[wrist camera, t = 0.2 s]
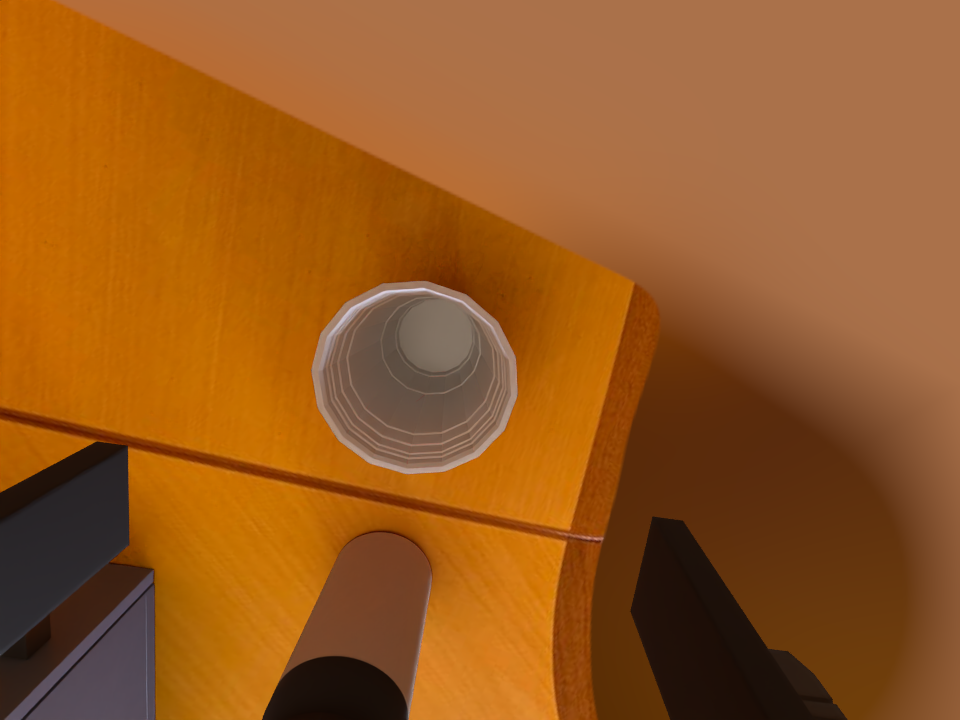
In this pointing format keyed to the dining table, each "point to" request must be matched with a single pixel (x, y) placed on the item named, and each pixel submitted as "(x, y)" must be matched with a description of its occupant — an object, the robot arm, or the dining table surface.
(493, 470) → the dining table surface
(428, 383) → the plastic cup
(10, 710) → the cupboard door
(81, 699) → the cupboard
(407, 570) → the travel mug
